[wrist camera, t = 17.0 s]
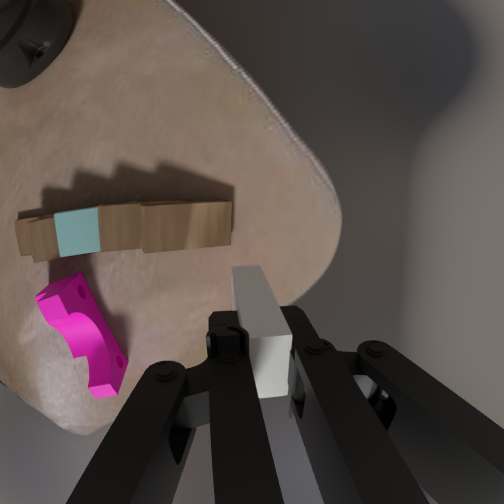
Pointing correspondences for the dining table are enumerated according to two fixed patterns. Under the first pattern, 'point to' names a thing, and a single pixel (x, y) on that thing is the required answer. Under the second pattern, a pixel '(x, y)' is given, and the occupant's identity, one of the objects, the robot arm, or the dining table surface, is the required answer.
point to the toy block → (84, 332)
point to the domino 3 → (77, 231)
